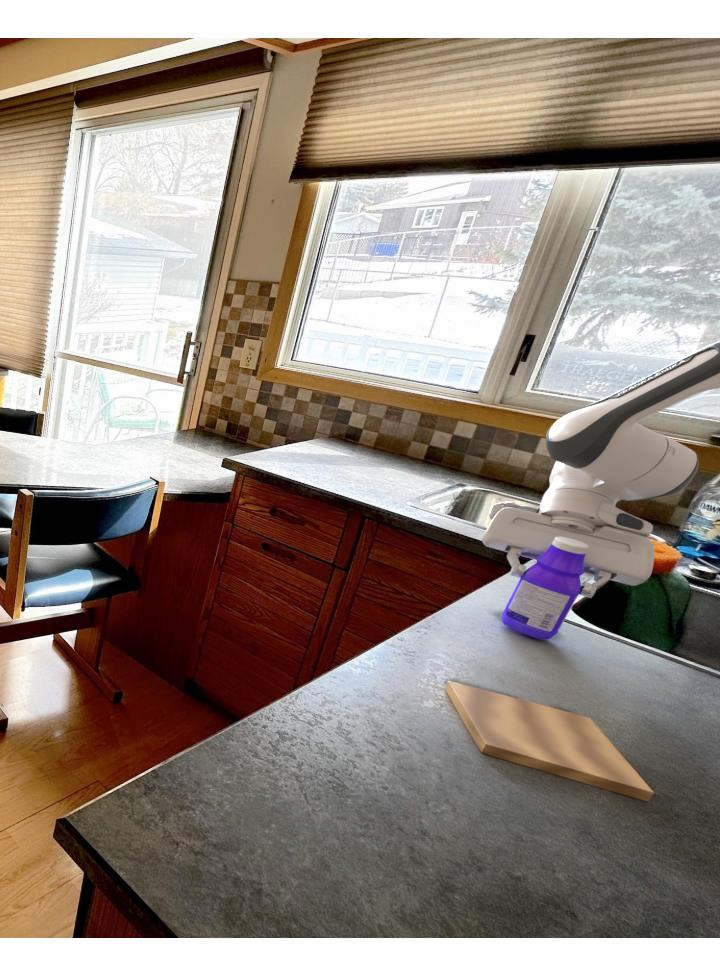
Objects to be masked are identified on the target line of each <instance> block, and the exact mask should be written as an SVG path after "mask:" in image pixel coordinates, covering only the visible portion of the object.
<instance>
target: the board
mask: <svg viewBox="0 0 720 958" xmlns="http://www.w3.org/2000/svg"><path fill="white" fill-rule="evenodd" d="M444 690H445V692H446V694H447V696H448V698H449V699H450V700H451V703H452V704H453V706H454V707H455V709H456V711H457V713H458V715H459V716H460V718H461V720H462V722H463V723H464V726H465V727H466V729H467V730H468V732H469V734H470V736H471V738H472V739H473V741H474V742H475V744H476V746H477V748H478V750H479V751H480V753H481V754H483V755H487V756H491V757H494V758H498V759H500V760H504V761H508V762H511V763H514V764H517V765H521V766H525V767H528V768H532V769H535V770H539V771H541V772H545V773H548V774H552V775H554V776H555V775H556V776H559V777H562V778H566V779H569V780H573V781H575V782H579V783H582V784H586V785H588V786H589V785H590V786H592V787H596V788H600V789H603V790H606V791H608V792H609V791H610V792H613V793H617V794H620V795H622V796H626V797H630V798H633V799H636V800H641V801H644V802H647V803H648V802H649V801H650V799H651V798H652V797H653V795H654V794H655V791H653V790H652V788H651V787H650V786H649V785H648V783H647V782H646V781H645V780H644V779H643V778H642V777H641V775H639V773H638V772H637V771H636V769H634V767H633V766H632V765H631V764H630V763H629V761H628V760H627V759H626V758H625V757H624V755H623V754H621V753H620V751H619V750H618V748H616V746H615V745H614V744H613V743H612V741H610V739H609V738H608V737H607V736H606V735H605V734H604V733H603V731H602V730H601V728H599V727H598V726H597V724H596V723H595V722H594V721H593V720H592V719H591V718H590V717H588V716H584V715H581V714H577V713H574V712H570V711H566V710H562V709H560V708H554V707H551V706H547V705H543V704H539V703H536V702H531V701H528V700H524V699H521V698H516V697H513V696H510V695H505V694H501V693H498V692H493V691H490V690H486V689H483V688H479V687H475V686H472V685H467V684H463V683H459V682H457V681H453V680H447V682H446V684H445V686H444Z"/></svg>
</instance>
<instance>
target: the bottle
mask: <svg viewBox="0 0 720 958" xmlns="http://www.w3.org/2000/svg"><path fill="white" fill-rule="evenodd" d="M588 549H589V546H588V545H587V544H585V543H583V542H581V541H578V540H575V539H571V538H567V537H555V539H554V541H553V542H552V544H551V546H550V547H549V549H548V550H547V551H546V552H545V553H543V554H542V555H540V556H538V557H537V558H536V560H535V561H536V562H535V563H534V564H532V565H531V566H530V567H528V568H527V569H525V570H524V571H525V572H524V574H523V576H522V577H521V578H519V580H518V582H517V584H516V586H515V587H514V590H513V592H512V594H511V596H510V598H509V600H508V602H507V604H506V606H505V608H504V610H503V612H502V613H501V622H502V623H503V625H505V626H506V627H508V628H509V629H512V630H513V631H516V632H519V633H520V634H523V635H525V636H528V637H531V638H534V639H537V640H540V641H541V640H542V641H546V640H551V638H553V637H554V636H556V635H557V634H558V633H559V630H560V629H561V627H562V626H563V623H564V622H565V621H566V618H567V616H568V614H569V612H570V610H571V609H572V607H573V606H574V603H576V600H577V598H578V597H579V596H580V595H579V593H580V592H581V586H582V582H581V576H582V575H584V574H585V573H584V568H583V561H584V558H585V555H586V553H587V551H588Z"/></svg>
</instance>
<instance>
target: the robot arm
mask: <svg viewBox="0 0 720 958" xmlns="http://www.w3.org/2000/svg"><path fill="white" fill-rule="evenodd" d="M717 389H720V340H718V341H715V342H713V343H711V344H709V345H706V346H705V347H704V346H703V347H702V348H700V349H698V350H695V351H694V352H692V353H690V354H687V355H685V356H684V357H682V358H680V359H678V360H675V361H674V362H672V363H669V364H668V365H666V366H664V367H663V368H660V369H659V370H656V371H653V373H650V374H649V375H647V376H645V377H643V378H641V379H639V380H637V381H635V382H633V383H631V384H629V385H628V386H625V387H623V388H622V389H619V390H618V391H615V392H613V393H612V394H610V395H608V396H606V397H604V398H602V399H599V400H597V401H595V402H592V403H589V404H586V405H584V406H581V407H578V408H576V409H574V410H572V411H569V412H567V413H565V414H563V415H562V416H561V417H558V419H557V420H556V421H554V422H553V423H552V424H551V425H550V427H549V428H548V429H547V432H546V435H545V445H546V450H547V452H548V455H549V457H550V458H551V459H552V460H553V461H555V462H554V464H553V467H552V469H551V472H550V475H549V479H548V482H549V487H548V488H547V490H546V491H544V493H543V495H542V498H541V500H540V504H539V506H538V507H534V506H529V505H523V504H517V503H515V502H512V501H505V502H497V503H495V504H493V505H492V506H491V507H490V510H489V512H488V516H489V517H488V518H489V519H490V520H491V521H490V522H489V524H488V525H487V527H486V529H485V531H484V533H483V535H482V537H481V542H482V544H483V545H484V546H485V547H487V548H490V549H494V550H498V551H502V552H505V553H507V555H506V559H507V561H508V563H509V565H510V566H511V569H510V572H509V576H513V577H516V578H519V579H520V578H521V577H522V576H523V574H524V572H525V571H526V570H527V569H526V568H527V565H524V564H521V563H520V560H519V558H520V556H521V557H523V558H528V559H531V560H535V561H537V560H536V558H537V557H538V556H540V555H542V554H543V553H545V552H546V551H547V550H548V549H549V547H550V546H551V544H552V542H553V541H554V539H555V537H567V538H571V539H575V540H578V541H581V542H583V543H585V544H587V545H588V546H589V549H588V551H587V553H586V555H585V558H584V561H583V568H584V573H583V574H587V575H590V576H593V578H592V580H593V583H589V582H583V583H582V584H581V592H580V593H579V595H578V596H582V597H586V598H589V599H592V598H593V597H594V595H595V594H596V591H597V589H598V588H600V587H601V586H603V585H605V584H606V583H607V582H608V581H612V582H615V583H620V584H624V585H627V586H632V587H635V586H636V587H637V586H638V585H641V584H644V583H645V582H646V581H648V580H649V578H650V577H651V575H652V573H653V568H654V563H655V546H654V543H653V542H652V541H651V540H650V539H649V537H650V535H651V534H652V533H653V529H654V526H653V524H652V523H650V522H648V521H647V520H645V519H642V518H640V517H637V516H636V515H633V514H631V513H628V512H626V511H624V510H622V509H620V508H618V507H617V506H616V505H617V503H618V502H620V501H624V502H625V501H626V502H633V501H643V500H650V499H658V498H662V497H667V496H670V495H674V494H677V493H679V492H681V491H683V490H684V489H685V488H687V486H689V484H690V483H691V482H692V481H693V479H694V478H695V476H696V474H697V472H698V470H699V465H700V460H699V456H698V454H697V452H696V451H695V450H694V449H691V448H690V447H688V446H686V445H684V444H682V443H680V442H678V441H677V440H674V439H672V438H670V437H669V436H666V435H664V434H661V433H658V432H656V431H654V430H652V429H650V428H648V427H646V426H643V425H642V424H640V423H638V422H641V421H643V420H645V419H647V418H649V417H651V416H653V415H655V414H657V413H660V412H661V411H663V410H665V409H668V408H670V407H672V406H674V405H676V404H679V403H680V402H683V401H684V400H687V399H689V398H691V397H693V396H695V395H697V394H700V393H704V392H706V391H712V390H717Z"/></svg>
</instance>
